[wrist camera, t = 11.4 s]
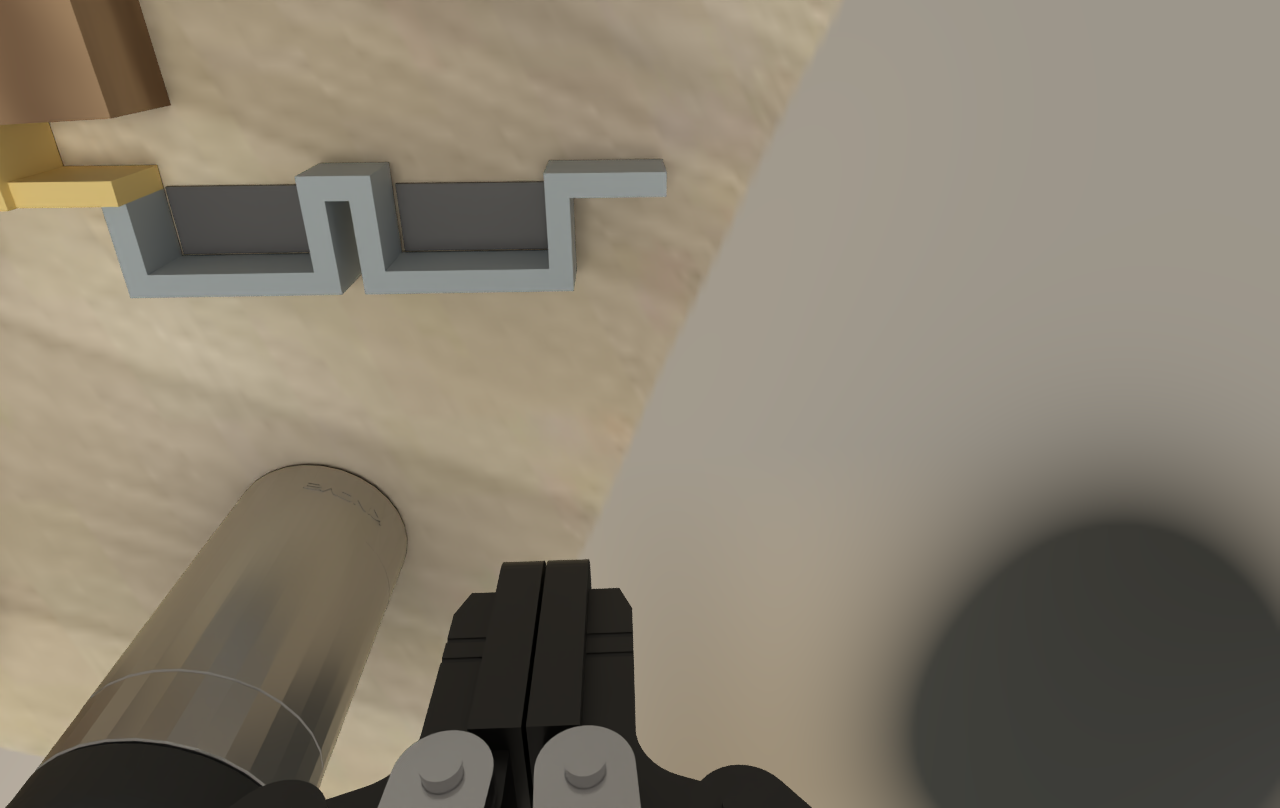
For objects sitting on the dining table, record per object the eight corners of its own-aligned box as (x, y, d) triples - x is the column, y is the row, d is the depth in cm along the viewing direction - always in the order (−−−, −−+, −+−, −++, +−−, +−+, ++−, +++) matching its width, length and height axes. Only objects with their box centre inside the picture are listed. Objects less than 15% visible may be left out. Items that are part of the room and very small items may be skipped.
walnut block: (130, -31, 30) (57, -37, 26) (172, 104, 33) (110, 118, 29) (3, -23, 30) (-90, -28, 26) (53, 111, 33) (-25, 126, 29)
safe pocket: (79, -109, 29) (5, -125, 26) (163, 188, 34) (111, 209, 31) (-57, -109, 29) (-150, -125, 25) (47, 190, 34) (-18, 211, 30)
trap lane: (664, -111, 30) (669, -123, 27) (661, 268, 37) (665, 289, 34) (52, -109, 29) (-5, -121, 26) (166, 276, 36) (130, 298, 33)
